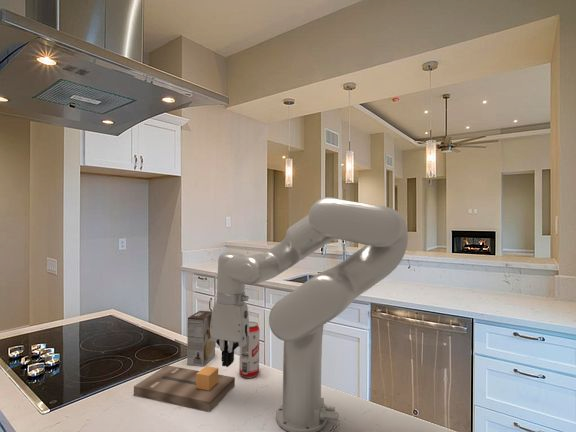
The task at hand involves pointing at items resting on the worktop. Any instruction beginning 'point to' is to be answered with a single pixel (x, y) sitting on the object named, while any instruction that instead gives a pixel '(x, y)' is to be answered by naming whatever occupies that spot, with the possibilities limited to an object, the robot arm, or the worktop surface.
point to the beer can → (250, 353)
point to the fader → (207, 378)
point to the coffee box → (199, 339)
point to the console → (183, 388)
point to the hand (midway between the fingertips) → (227, 364)
